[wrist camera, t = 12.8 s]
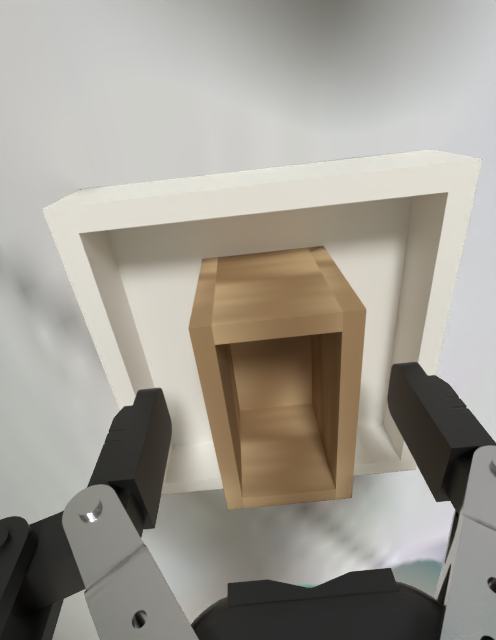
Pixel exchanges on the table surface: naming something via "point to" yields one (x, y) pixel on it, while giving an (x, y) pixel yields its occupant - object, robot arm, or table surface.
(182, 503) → the table surface
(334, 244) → the large crate
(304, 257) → the small crate
